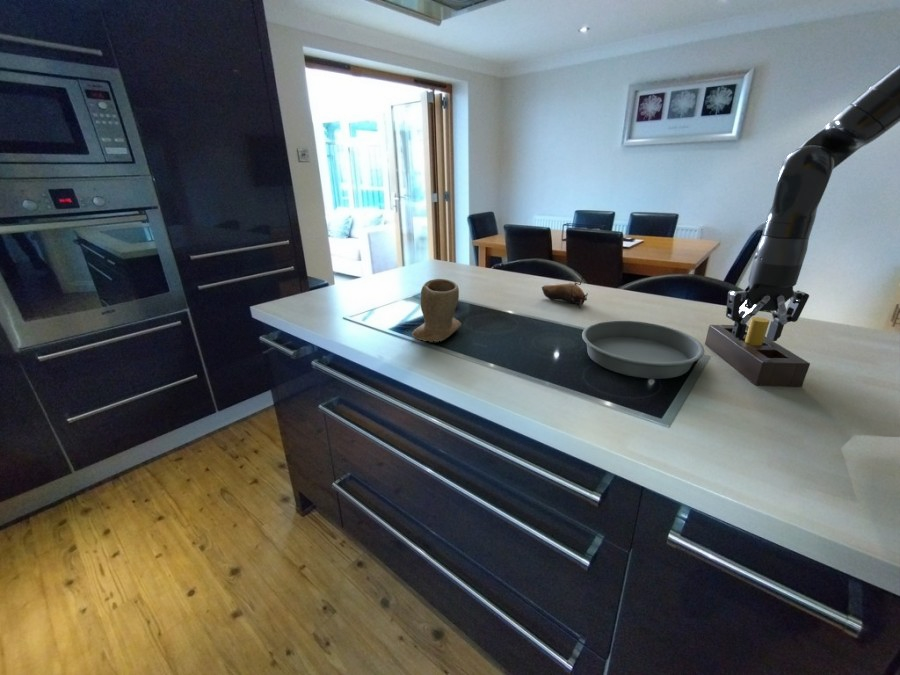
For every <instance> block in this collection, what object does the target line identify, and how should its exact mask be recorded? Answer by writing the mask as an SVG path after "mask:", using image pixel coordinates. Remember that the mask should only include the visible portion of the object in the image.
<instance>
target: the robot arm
mask: <svg viewBox="0 0 900 675" xmlns="http://www.w3.org/2000/svg"><path fill="white" fill-rule="evenodd" d="M899 123H900V63H899V64H898V65H896V66H895V67H894V68H892V69H891V70H890V71H888V72H887V73H886V74H884V75H883V76H882V77H881V78H879V79H878V80H877V81H876V82H875V83H873V84H872V85H871V86H869V87H868V88H867V89H866V90H865V91H864V92H862V94H860V95H859V96H858V97H856V98H855V99H854V100H853V101H852V102H850V103H849V104H848V105H847V106H845V108H843V109H842V110H841V111H840V112H839V113H838V114H837V115H836V116H835V117H834V118H833V120H831V121H830V122H829V123H828V124H827V125H825V126H824V127H823V128H822V129H820V130H819V131H818V132H817V133H815V134H814V135H813V136H811V137H810V138H809V139H808V140H806V141H805V142H803V143H802V144H801V145H800V146H798V148H796V149H795V150H793V151H792V152H791V153H790V154H788V155H787V156H786V157H785V158H784V160H783V161H782V162H781V163H780V167H779V171H778V178H777V183H776V186H775V191H774V196H773V199H772V200H773V202H772V205H771V207H770V208H769V211H768V214H767V217H766V219H765V223H764V226H763V230H762V233H761V234H762V235H760V236H761V237H760V239H759V241H758V244H757V247H756V250H755V252H754V256H753V260H752V263H751V264H752V265H751V267H750V271H749V275H748V278H747V279H748V280H747V281H748V283H747V286H746V287H745V288H744V289H743V290H738V291H735V290H733V289H730V290H728V292H727V300H726V310H725V316H726V318H728V319H730V320H731V321H733V322H734V323H733V325H734V327H733V331H732V335H733V337H734V338H735V339H736V340H743V337H744V333H745V330H746V326H748V324H747V323H748V322H750V321H749V320H751V318H753V317H754V316H756V315H757V314H758V313H759V312H763V311H769V312H770V314H771V317H772V320H771V321H770V323H769V326H768V329H767V332H766V337H767V338H768V339H769V340H771V341H774V342H777V341H778V339H780V337H781V335H782V332H783V330H784V327H785V325H787V323H790V322H791V323H796V322H797V321H798V320H799V318H800V316H801V314H802V312H803V310H804V308H805V306H806V304H807V302H808V301H809V298H810V294H809V293H807V292H805V291H802V290H794V287H795V286H796V285H797V283H798V280H799V276H800V274H801V270H802V267H803V264H804V262H805V257H806V255H807V252H808V247H809V240H810V236H811V233H812V230H813V228H814V224H815V221H816V216H817V212H818V207H819V206H820V203H821V201H822V199H823V196H824V194H825V192H826V189H827V187H828V184H829V182H830V179H831V177H832V174H833V170H834V169H835V168H837V167H838V166H839V165H840V164H842V163H844V162H845V161H846V160H847V159H848V158H849V157H851V156H852V155H853V154H855V153H856V152H857V151H858V150H860V149H861V148H863V147H865V146H867V145H869V144H870V143H872V142H874V141H875V140H877V139H878V138H879V137H881V136H882V135H884V134H885V133H886V132H888V131H889V130H890V129H892V128H893V127H895V126H896V125H897V124H899ZM744 298H745V301H744ZM788 301H789V303H788V305H787V306H786V302H788ZM741 302H743V303H742V304H741Z"/></svg>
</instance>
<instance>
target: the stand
mask: <svg viewBox="0 0 900 675" xmlns="http://www.w3.org/2000/svg"><path fill="white" fill-rule="evenodd" d="M733 327H734V324H709V325H708V329H707V332H706V333H707V334H706V337H705V341H704V345H705V346H706V347H707V348H709V349H710V350H711V351H713V352H714V353H715V354H716V355H717V356H718V357H720V359H723V360H724V362H726V363H727V364H728V365H729V366H730V367H732V368H734V370H736V371H737V372H738V373H739V374H741V375H742V376H743V377H744V378H746V379H747V380H748V381H749V382H751V383H752V384H753V385H754V386H757V387H758V386H761V387H763V386H764V387H768V386H769V387H793V388H794V387H796V388H799V387H800V388H802V387H803V385H804V382H805V379H806V376H807V374H808V371H809V369H810V366H811V363H810V362H809V361H807V360H805V359H803V358H802V357H800V356H798V355H797V354H795V353H793V352H792V351H790V350H788V349H787V348H785V347H783V346H782V345H780V344H779V343H777V342H776V341H771V340H769V339H768V338H767V336H765V338H764V341H763V344H762V346H757V345H748V344H747V343H745V339H746V336H747V332H748V329H749V325H747V326H746V330H745V333H744V337H743V340H736V339H735V338H734V337H733V335H732V331H733Z"/></svg>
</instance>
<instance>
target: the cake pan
mask: <svg viewBox="0 0 900 675" xmlns="http://www.w3.org/2000/svg"><path fill="white" fill-rule="evenodd" d="M581 338H582V340H583V341H584V343H585V344H586V350H587V355H588V357H589V358H590V359H591V360H592V361H593V362H594V363H596V364H597V365H598V366H600V367H602V368H604V369H606V370H607V371H611V372H614V373H616V374H617V373H618V374H621V375H623V376H628V377H633V378H640V379H648V380H649V379H650V380H664V379H665V380H666V379H673V378H677V377H680V376H683V375H685V374H686V373H688V372H689V371H690V369H691V367H692V366H693V364H694V363H695V362H696V361H699V360H701V358H703V356H704V355H705V348H704V345H703V343H701V342H700V341H699V340H698V339H697V338H695V337H693V336H692V335H690V334H688V333H686V332H683V331H681V330H679V329H677V328H673V327H669V326H666V325H662V324H657V323H651V322H645V321H638V320H608V321H601V322H597V323H596V322H595V323H593V324H591V325H588V326H587V327H585V328H584V329H583V331H582V334H581Z"/></svg>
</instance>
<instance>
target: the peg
mask: <svg viewBox="0 0 900 675" xmlns="http://www.w3.org/2000/svg"><path fill="white" fill-rule="evenodd" d="M769 325H770V320H769V319H767V318H765V317H759V316H758V317H757V316H755V317H754V316H752V317H751V318H750V321H749V325H748V326H749V329H748V332H747V336H746V339H745V343H747V344H748V345H757V346H762V344H763V341H764V338H765V337H766V335H767V332H768V329H769Z"/></svg>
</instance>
